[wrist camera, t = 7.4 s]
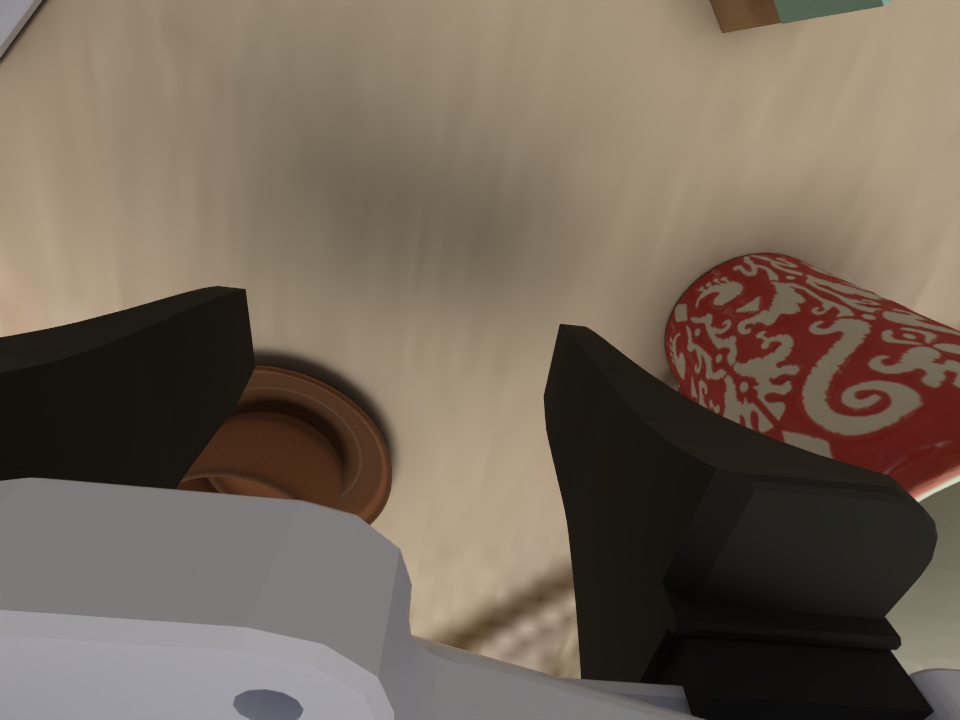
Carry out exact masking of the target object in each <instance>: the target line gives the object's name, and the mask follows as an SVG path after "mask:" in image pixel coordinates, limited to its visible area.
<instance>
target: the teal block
mask: <svg viewBox="0 0 960 720" xmlns="http://www.w3.org/2000/svg"><path fill="white" fill-rule="evenodd" d="M890 1H891V0H774V3H775V6H776V8H777V11H778V14H779V17H780V20H781V22H782V23H788V22H794V21H800V20H806V19H811V18H817V17H823V16H829V15H834V14H840V13H846V12H852V11H857V10H863V9H869V8H875V7H881V6H884V5H886V4H887V3H889V2H890Z"/></svg>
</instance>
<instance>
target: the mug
mask: <svg viewBox="0 0 960 720" xmlns="http://www.w3.org/2000/svg"><path fill="white" fill-rule="evenodd" d="M665 351H666V356H667V359H668V362H669V365H670V368H671V370H672V372H673V374H674V375H675V377H676V379H677V381H678V382H679V384H680V388H679V391H678V392H679V393H680V394H682V395H684V396H685V397H687V398H689V399H691V400H693V401H694V402H696V403H698V404H700V405H702V406H703V407H705V408H707V409H709V410H711V411H713V412H715V413H717V414H719V415H721V416H723V417H725V418H727V419H730V420H732V421H734V422H736V423H739V424H741V425H743V426H745V427H747V428H750V429H752V430H754V431H757V432H759V433H762V434H764V435H766V436H769V437H771V438H774V439H776V440H779V441H782V442H785V443H787V444H790V445H793V446H796V447H799V448H801V449H804V450H807V451H810V452H812V453H815V454H818V455H821V456H825V457H828V458H832V459H835V460H838V461H842V462H845V463H849V464H852V465H855V466H859V467H862V468H865V469H869V470H872V471H876V472H879V473H882V474H886V475H889V476H891V477H892V478H894V479H895V480H896V481H897V482H898V483H899V484H900V485H901V486H902V487H903V488H904V489H905V490H906V491H907V492H908V493H909V494H910V495H911V496H912V497H913V498H914V499H915V500H916V501H917V502H918V503H919V504H920V505H921V506H923V507H924V509H925V510H926V511H927V512H928V514H929V515H930V516H931V517H932V519H933V520H934V521H935V525H936V530H937V535H938V540H937V543H936V547H935V550H934V554H933V558H932V560H931V562H930V563H929V565H928V566H927V568H926V569H925V571H924V572H923V574H922V575H921V576H920V578H919V579H918V580H917V581H916V582H915V583H914V584H913V585H912V587H911V588H910V589H909V590H908V591H907V592H906V593H905V595H904V596H903V597H902V598H901V599H900V600H899V601H898V602H897V604H896V605H895V606H894V607H893V608H892V609H891V610H890V611H889V613H888V614H887V615H886V616H885V617H886V618H887V620H888V621H889V622H890V624H891V625H892V627H893V628H894V629H895V631H896V632H897V633H898V635H899V636H900V637H901V644H902V645H901V646H900V647H899V648H898V649H897V650H891V651H892V653H893V654H894V656H895V657H896V658H897V660H898V661H899V663H900V664H901V665H902V667H903V668H904V670H905V671H906V672H907V674H908V675H910V674H911V673H914V672H917V671H920V670H924V669H932V668H945V669H959V670H960V331H957V330H955V329H953V328H951V327H949V326H946V325H944V324H941V323H939V322H936V321H934V320H932V319H930V318H927V317H925V316H923V315H921V314H918V313H916V312H914V311H912V310H910V309H908V308H906V307H904V306H902V305H900V304H898V303H896V302H893V301H891V300H888V299H885V298H883V297H880V296H879V295H877V294H875V293H873V292H870V291H868V290H865V289H862V288H860V287H858V286H856V285H853V284H851V283H849V282H846V281H844V280H842V279H839V278H837V277H835V276H833V275H831V274H830V273H827V272H825V271H822V270H820V269H818V268H816V267H814V266H811V265H809V264H807V263H805V262H803V261H800V260H798V259H795V258H792V257H789V256H785V255H780V254H779V255H778V254H772V253H771V254H765V253H762V254H756V255H749V256H744V257H740V258H737V259H734V260H731V261H729V262H726V263H724V264H722V265H720V266H719V267H717V268H715V269H713V270H712V271H710V272H709V273H707V274H705V275H704V276H703V277H702V278H700V279H699V280H698V281H697V282H696V283H695V284H694V285H692V287H691V288H690V289H689V290H688V291H687V292H686V293H685V294H684V296H683V297H682V298H681V300H680V301H679V302H678V304H677V306H676V308H675V309H674V311H673V313H672V316H671V318H670V321H669V323H668V326H667V330H666V340H665Z"/></svg>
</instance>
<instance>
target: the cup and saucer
mask: <svg viewBox="0 0 960 720" xmlns="http://www.w3.org/2000/svg"><path fill="white" fill-rule="evenodd" d="M391 484H392V467H391V461H390V456H389V452H388V449H387V446H386V444H385V441H384V439H383V437H382V435H381V434H380V432H379V430H378V429H377V427H376V426H375V424H374V423H373V422H372V420H371V419H370V418H369V417H368V416H367V414H366V413H365V412H364V411H363V410H362V409H361V408H360V407H359V406H357V405H356V404H355V403H354V402H353V401H351V400H350V399H349V398H348V397H346V396H345V395H343V394H342V393H340V392H339V391H337V390H336V389H334V388H332V387H331V386H329V385H327V384H325V383H323V382H321V381H319V380H317V379H314V378H312V377H309V376H307V375H304V374H301V373H297V372H294V371H291V370H286V369H282V368H276V367H269V366H258V365H255V369H254V371H253V373H252V375H251V377H250V380H249V382H248V384H247V386H246V388H245V390H244V392H243V394H242V395H241V397H240V399H239V401H238V402H237V404H236V405H235V407H234V408H233V410H232V411H231V412H230V414H229V415H228V417H227V418H226V419H225V421H224V422H223V424H222V425H221V426H220V428H219V429H218V431H217V432H216V433H215V435H214V436H213V437H212V439H211V440H210V442H209V443H208V444H207V446H206V447H205V448H204V450H203V451H202V452H201V454H200V455H199V457H198V458H197V459H196V461H195V462H194V463H193V465H192V466H191V468H190V469H189V470H188V472H187V473H186V474H185V476H184V477H183V479H182V481H181V482H180V484H179V485H178V487H177V488H176V490H187V491H198V492H210V493H222V494H233V495H245V496H257V497H268V498H280V499H291V500H303V501H307V502H311V503H315V504H318V505H322V506H326V507H329V508H333V509H337V510H341V511H344V512H348V513H352V514H355V515H357V516H358V517H360V518H361V519H362V520H363V521H365V522H366V523H367V524H369V525H371V524H372V523H373V522H374V521H375V519H376V518H377V517H378V516H379V515H380V513H381V512H382V510H383V509H384V507H385V505H386V503H387V500H388V498H389V495H390V491H391Z"/></svg>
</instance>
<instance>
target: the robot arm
mask: <svg viewBox="0 0 960 720" xmlns="http://www.w3.org/2000/svg"><path fill="white" fill-rule="evenodd" d="M41 2H42V0H0V57H1V56H2V55H3V53H4V52H5V51H6V49H7V48H8V46H9V45H10V44H11V42H12V41H13V40H14V38H15V37H16V36H17V34H18V33H19V31H20V30H21V29H22V27H23V26H24V25H25V23H26V22H27V21H28V19H29V18H30V17H31V15H32V14H33V12H34V11H35V10H36V8H37V7H38V6H39V4H40V3H41ZM254 369H255V360H254V352H253V344H252V336H251V328H250V320H249V313H248V305H247V297H246V289H239V288H230V287H221V286H215V287H207V288H202V289H198V290H194V291H189V292H186V293H182V294H178V295H175V296H171V297H168V298H164V299H161V300H158V301H154V302H151V303H147V304H144V305H140V306H137V307H133V308H130V309H126V310H122V311H119V312H115V313H111V314H107V315H103V316H99V317H96V318H92V319H88V320H84V321H80V322H76V323H72V324H68V325H63V326H59V327H54V328H49V329H44V330H39V331H34V332H28V333H23V334H18V335H12V336H6V337H0V720H960V670H959V669H945V668H932V669H924V670H920V671H917V672H914V673H911V674H910V675H908V674H907V672H906V671H905V670H904V668H903V667H902V665H901V664H900V663H899V661H898V660H897V658H896V657H895V656H894V654H893V653H892V651H891V650H897V649H898V648H899V647H900V646H901V645H902V644H901V637H900V636H899V635H898V633H897V632H896V631H895V629H894V628H893V627H892V625H891V624H890V622H889V621H888V620H887V618H886V617H885V616H886V615H887V614H888V613H889V611H890V610H891V609H892V608H893V607H894V606H895V605H896V604H897V602H898V601H899V600H900V599H901V598H902V597H903V596H904V595H905V593H906V592H907V591H908V590H909V589H910V588H911V587H912V585H913V584H914V583H915V582H916V581H917V580H918V579H919V578H920V576H921V575H922V574H923V572H924V571H925V569H926V568H927V566H928V565H929V563H930V562H931V560H932V558H933V554H934V550H935V547H936V543H937V540H938V535H937V530H936V525H935V521H934V520H933V519H932V517H931V516H930V515H929V514H928V512H927V511H926V510H925V509H924V507H923V506H921V505H920V504H919V503H918V502H917V501H916V500H915V499H914V498H913V497H912V496H911V495H910V494H909V493H908V492H907V491H906V490H905V489H904V488H903V487H902V486H901V485H900V484H899V483H898V482H897V481H896V480H895V479H894V478H892V477H891V476H889V475H886V474H882V473H879V472H876V471H872V470H869V469H865V468H862V467H859V466H855V465H852V464H849V463H845V462H842V461H838V460H835V459H832V458H828V457H825V456H821V455H818V454H815V453H812V452H810V451H807V450H804V449H801V448H799V447H796V446H793V445H790V444H787V443H785V442H782V441H779V440H776V439H774V438H771V437H769V436H766V435H764V434H762V433H759V432H757V431H754V430H752V429H750V428H747V427H745V426H743V425H741V424H739V423H736V422H734V421H732V420H730V419H727V418H725V417H723V416H721V415H719V414H717V413H715V412H713V411H711V410H709V409H707V408H705V407H703V406H702V405H700V404H698V403H696V402H694V401H693V400H691V399H689V398H687V397H685V396H684V395H682V394H680V393H679V392H677V391H675V390H674V389H672V388H670V387H669V386H667V385H666V384H664V383H663V382H661V381H660V380H658V379H657V378H655V377H654V376H652V375H651V374H649V373H648V372H647V371H645V370H644V369H642V368H641V367H640V366H638V365H637V364H636V363H634V362H633V361H632V360H630V359H629V358H628V357H626V356H625V355H624V354H622V353H621V352H620V351H619V350H617V349H616V348H615V347H614V346H612V345H611V344H610V343H608V342H607V341H606V340H605V339H603V338H602V337H601V336H599V335H598V334H597V333H595V332H594V331H592V330H591V329H589V328H587V327H584V326H575V325H566V324H560V326H559V330H558V335H557V339H556V344H555V348H554V353H553V357H552V362H551V366H550V370H549V375H548V379H547V384H546V388H545V393H544V408H545V421H546V431H547V435H548V440H549V444H550V449H551V453H552V458H553V462H554V466H555V470H556V475H557V479H558V483H559V487H560V491H561V496H562V500H563V504H564V509H565V514H566V520H567V526H568V534H569V543H570V551H571V560H572V570H573V580H574V590H575V601H576V612H577V625H578V638H579V651H580V666H581V679H572V678H559V677H556V676H552V675H549V674H545V673H542V672H538V671H535V670H531V669H528V668H525V667H521V666H518V665H514V664H511V663H507V662H504V661H500V660H497V659H493V658H490V657H486V656H483V655H479V654H476V653H472V652H469V651H466V650H462V649H459V648H455V647H452V646H448V645H445V644H441V643H438V642H434V641H431V640H427V639H424V638H420V637H417V636H413V635H411V631H410V624H409V613H410V601H411V588H412V584H411V581H410V578H409V575H408V572H407V569H406V566H405V563H404V560H403V557H402V554H401V551H400V548H398V547H397V546H396V545H394V544H393V543H392V542H391V541H389V540H388V539H387V538H385V537H384V536H383V535H382V534H380V533H379V532H378V531H376V530H375V529H374V528H372V527H371V526H370V525H369V524H367V523H366V522H365V521H363V520H362V519H361V518H360V517H358V516H357V515H355V514H352V513H348V512H344V511H341V510H337V509H333V508H329V507H326V506H322V505H318V504H315V503H311V502H307V501H303V500H291V499H280V498H268V497H257V496H245V495H233V494H222V493H210V492H198V491H187V490H176V488H177V487H178V485H179V484H180V482H181V481H182V479H183V477H184V476H185V474H186V473H187V472H188V470H189V469H190V468H191V466H192V465H193V463H194V462H195V461H196V459H197V458H198V457H199V455H200V454H201V452H202V451H203V450H204V448H205V447H206V446H207V444H208V443H209V442H210V440H211V439H212V437H213V436H214V435H215V433H216V432H217V431H218V429H219V428H220V426H221V425H222V424H223V422H224V421H225V419H226V418H227V417H228V415H229V414H230V412H231V411H232V410H233V408H234V407H235V405H236V404H237V402H238V401H239V399H240V397H241V395H242V394H243V392H244V390H245V388H246V386H247V384H248V382H249V380H250V377H251V375H252V373H253V371H254Z"/></svg>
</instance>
